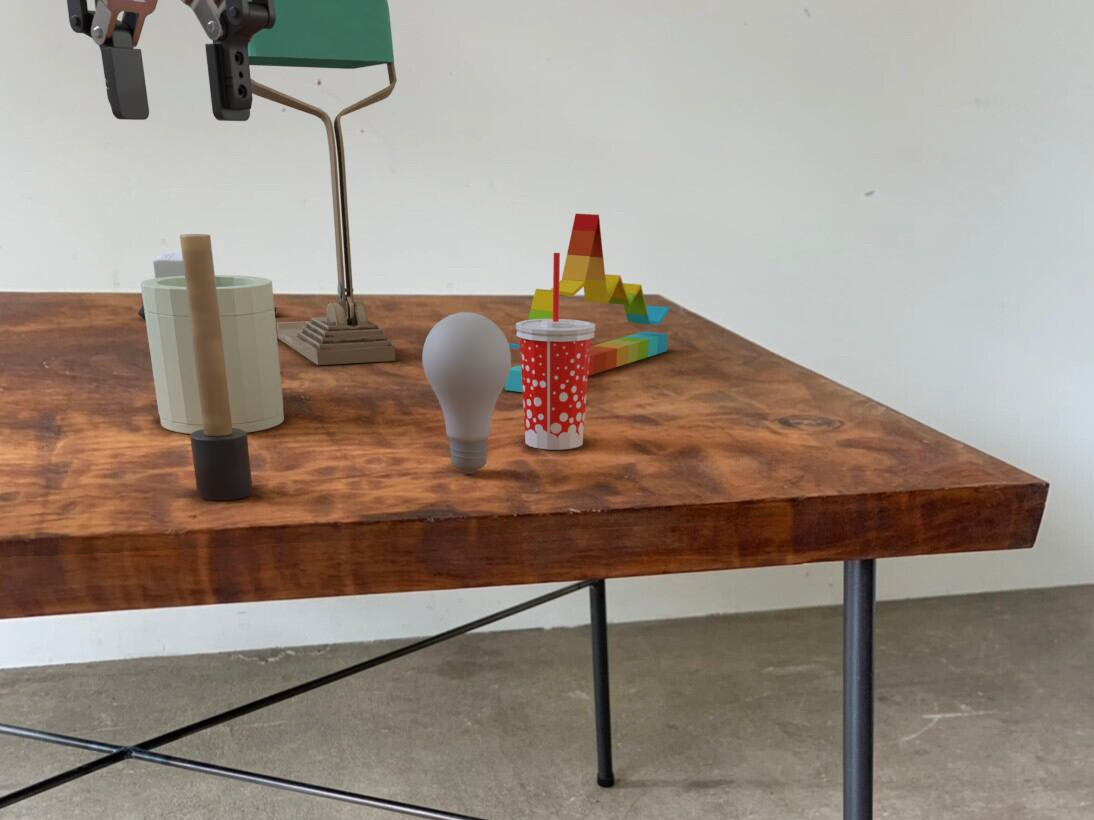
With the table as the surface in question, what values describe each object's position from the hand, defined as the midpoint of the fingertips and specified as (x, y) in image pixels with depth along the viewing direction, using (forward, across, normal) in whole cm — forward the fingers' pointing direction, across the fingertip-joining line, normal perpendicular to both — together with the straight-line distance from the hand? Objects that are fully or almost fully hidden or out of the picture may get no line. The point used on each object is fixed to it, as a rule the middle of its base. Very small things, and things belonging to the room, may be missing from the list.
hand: (180, 120), depth 68 cm
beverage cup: (+22, +10, +25) cm, 35 cm away
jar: (+22, -17, +15) cm, 32 cm away
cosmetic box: (+22, -25, +20) cm, 39 cm away
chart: (+22, -5, +56) cm, 60 cm away
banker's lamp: (+22, -35, +49) cm, 64 cm away
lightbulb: (+22, +10, +14) cm, 28 cm away
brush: (+22, 0, 0) cm, 22 cm away
